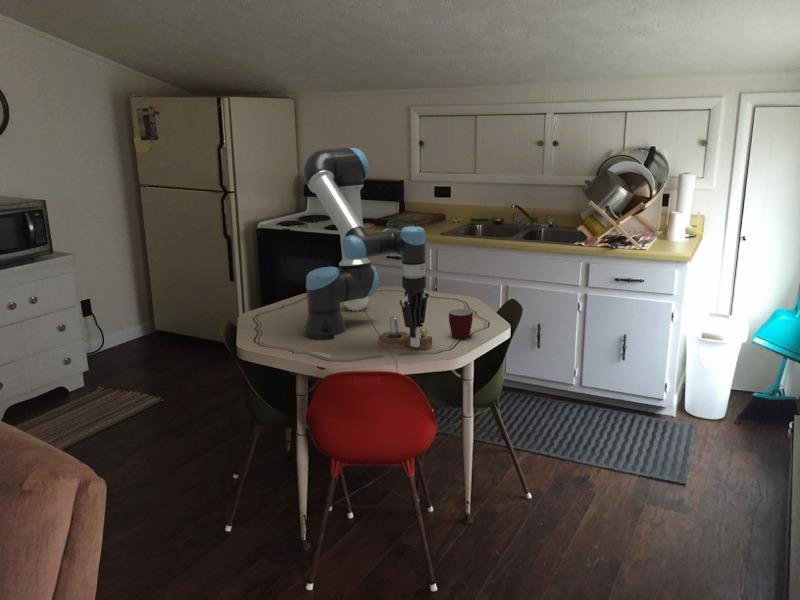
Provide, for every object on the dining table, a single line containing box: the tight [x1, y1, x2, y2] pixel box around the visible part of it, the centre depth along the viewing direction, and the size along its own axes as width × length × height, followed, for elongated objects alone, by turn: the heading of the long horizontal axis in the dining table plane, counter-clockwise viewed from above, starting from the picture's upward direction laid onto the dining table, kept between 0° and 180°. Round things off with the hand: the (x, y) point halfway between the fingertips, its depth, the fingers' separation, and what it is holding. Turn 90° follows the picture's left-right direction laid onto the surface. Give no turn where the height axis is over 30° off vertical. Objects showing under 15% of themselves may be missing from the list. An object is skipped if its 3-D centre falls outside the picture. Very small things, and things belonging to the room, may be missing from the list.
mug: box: [448, 308, 474, 340], centre depth 238 cm, size 11×8×10 cm
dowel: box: [420, 327, 428, 338], centre depth 231 cm, size 2×2×5 cm
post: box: [389, 316, 400, 339], centre depth 231 cm, size 3×3×9 cm
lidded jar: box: [343, 297, 370, 312], centre depth 277 cm, size 11×11×9 cm
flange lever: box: [378, 331, 433, 351], centre depth 230 cm, size 18×10×4 cm, turn 63°
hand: (415, 345), depth 225 cm, fingers closed
